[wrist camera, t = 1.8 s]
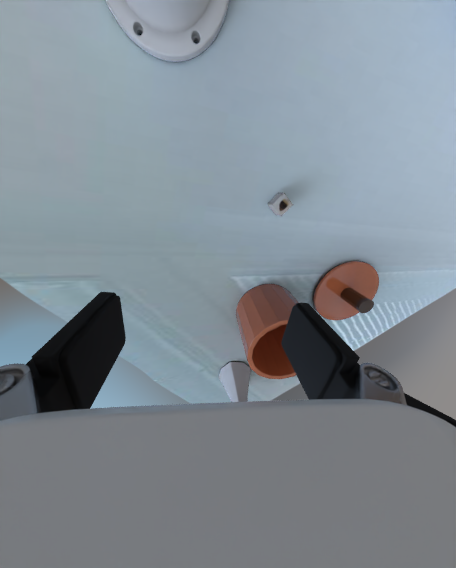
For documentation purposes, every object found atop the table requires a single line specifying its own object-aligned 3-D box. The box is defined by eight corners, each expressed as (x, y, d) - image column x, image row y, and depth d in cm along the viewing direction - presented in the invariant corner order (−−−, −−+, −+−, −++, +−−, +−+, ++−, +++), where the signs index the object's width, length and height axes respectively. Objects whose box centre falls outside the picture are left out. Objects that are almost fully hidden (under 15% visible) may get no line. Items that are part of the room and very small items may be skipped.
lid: (345, 247, 31) (373, 257, 26) (386, 279, 35) (417, 293, 30) (298, 301, 35) (315, 319, 30) (340, 325, 39) (360, 344, 34)
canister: (258, 272, 32) (281, 305, 22) (305, 300, 35) (342, 338, 26) (224, 320, 35) (231, 365, 26) (270, 340, 39) (291, 386, 30)
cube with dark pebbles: (286, 203, 27) (294, 204, 25) (275, 214, 28) (282, 216, 26) (278, 192, 26) (284, 192, 24) (267, 204, 27) (272, 205, 25)
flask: (228, 356, 40) (235, 403, 31) (255, 365, 42) (269, 411, 33) (213, 378, 42) (215, 427, 33) (239, 385, 44) (248, 433, 35)
